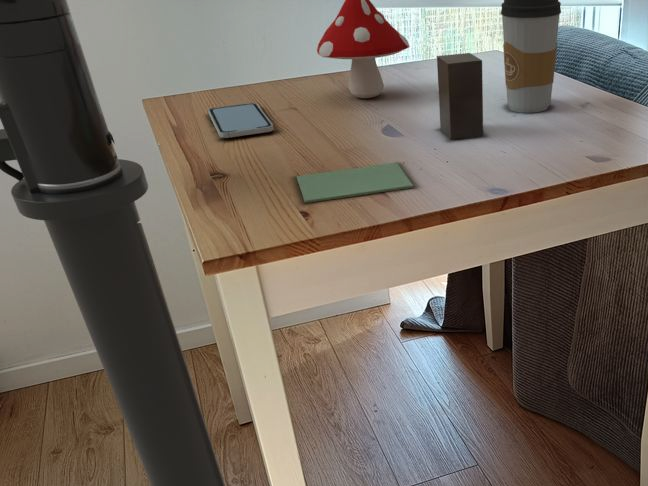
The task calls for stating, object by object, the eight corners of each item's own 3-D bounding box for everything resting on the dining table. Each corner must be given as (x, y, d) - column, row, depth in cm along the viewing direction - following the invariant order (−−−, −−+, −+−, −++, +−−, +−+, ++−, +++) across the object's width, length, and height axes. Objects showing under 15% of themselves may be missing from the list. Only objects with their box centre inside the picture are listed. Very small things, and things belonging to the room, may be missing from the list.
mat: (305, 203, 74) (304, 200, 74) (296, 178, 80) (296, 176, 80) (413, 187, 77) (413, 185, 77) (397, 165, 83) (396, 162, 83)
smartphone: (256, 102, 106) (274, 126, 94) (257, 107, 106) (275, 132, 95) (206, 108, 104) (219, 133, 92) (208, 114, 104) (220, 140, 93)
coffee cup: (490, 105, 104) (489, -6, 95) (537, 96, 107) (540, -12, 98) (519, 118, 98) (520, 1, 89) (568, 109, 101) (574, -5, 92)
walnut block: (450, 140, 90) (447, 63, 85) (440, 129, 94) (436, 55, 89) (483, 136, 91) (482, 60, 86) (471, 126, 95) (469, 52, 90)
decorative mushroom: (417, 85, 115) (411, -16, 106) (406, 108, 104) (397, -3, 95) (334, 86, 116) (321, -14, 108) (314, 109, 105) (298, -1, 96)
